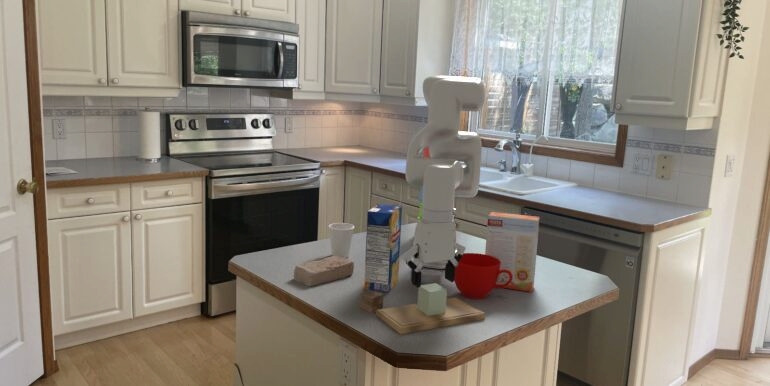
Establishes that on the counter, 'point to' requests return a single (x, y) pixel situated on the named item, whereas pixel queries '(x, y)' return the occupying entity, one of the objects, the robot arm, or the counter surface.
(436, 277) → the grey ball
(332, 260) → the brick
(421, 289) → the sage block
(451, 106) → the robot arm
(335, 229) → the dixie cup
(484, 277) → the ceramic cup
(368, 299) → the walnut block
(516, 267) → the cracker box
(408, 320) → the cutting board
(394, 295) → the counter surface
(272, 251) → the counter surface
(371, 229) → the beverage box
